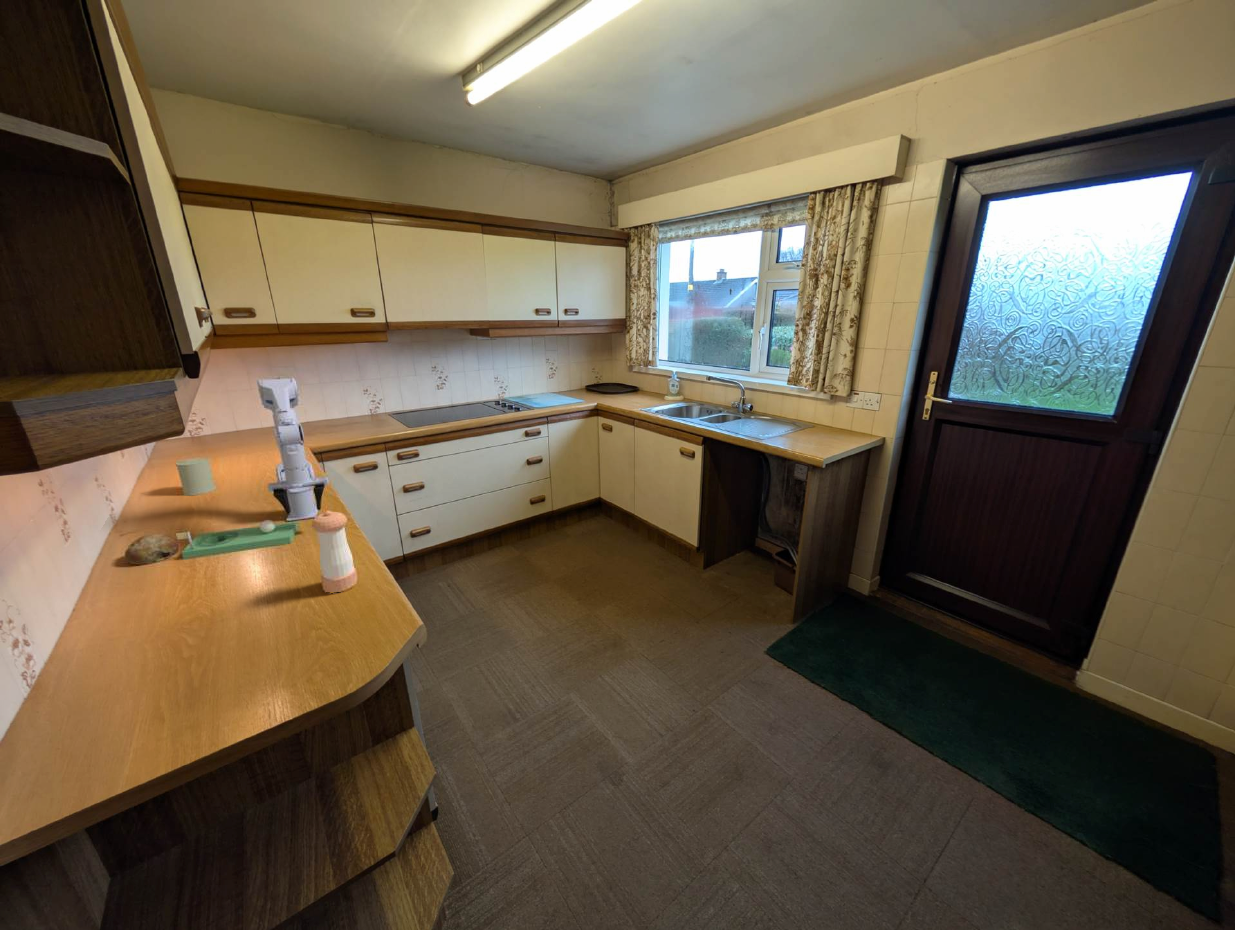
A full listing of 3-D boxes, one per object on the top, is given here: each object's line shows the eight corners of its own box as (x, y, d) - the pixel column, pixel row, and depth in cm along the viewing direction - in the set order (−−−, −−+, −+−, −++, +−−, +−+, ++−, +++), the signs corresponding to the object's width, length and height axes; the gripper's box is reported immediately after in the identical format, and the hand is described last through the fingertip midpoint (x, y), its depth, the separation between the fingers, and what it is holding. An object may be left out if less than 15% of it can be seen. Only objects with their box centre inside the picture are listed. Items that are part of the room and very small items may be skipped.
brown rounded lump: (144, 579, 123) (147, 556, 120) (111, 560, 123) (113, 536, 120) (185, 561, 132) (188, 539, 129) (154, 544, 132) (157, 521, 130)
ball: (262, 530, 138) (260, 519, 137) (277, 528, 140) (275, 517, 139) (259, 535, 135) (257, 524, 134) (274, 533, 137) (272, 522, 136)
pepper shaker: (319, 595, 110) (304, 519, 104) (328, 579, 117) (314, 507, 111) (353, 591, 112) (341, 515, 106) (361, 575, 119) (349, 504, 113)
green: (197, 541, 136) (191, 518, 134) (298, 527, 146) (293, 505, 144) (181, 559, 126) (174, 535, 124) (290, 543, 135) (286, 520, 133)
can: (188, 488, 177) (180, 458, 174) (219, 485, 181) (212, 455, 177) (179, 497, 169) (170, 464, 166) (212, 493, 173) (204, 461, 169)
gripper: (261, 473, 130) (271, 519, 133) (323, 467, 135) (331, 511, 139) (267, 466, 136) (276, 510, 140) (326, 461, 141) (333, 503, 145)
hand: (304, 510), depth 140 cm, fingers open, 7 cm apart
